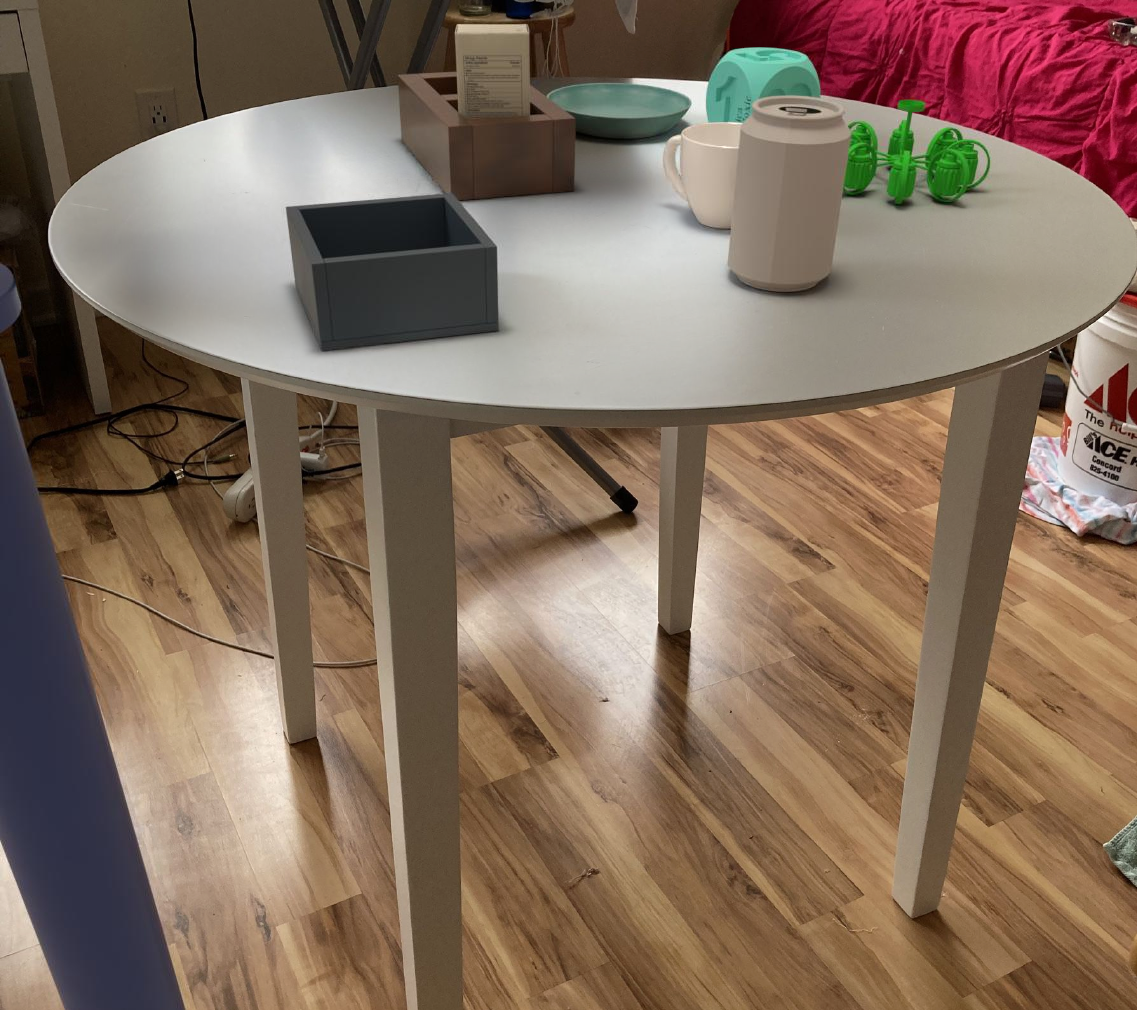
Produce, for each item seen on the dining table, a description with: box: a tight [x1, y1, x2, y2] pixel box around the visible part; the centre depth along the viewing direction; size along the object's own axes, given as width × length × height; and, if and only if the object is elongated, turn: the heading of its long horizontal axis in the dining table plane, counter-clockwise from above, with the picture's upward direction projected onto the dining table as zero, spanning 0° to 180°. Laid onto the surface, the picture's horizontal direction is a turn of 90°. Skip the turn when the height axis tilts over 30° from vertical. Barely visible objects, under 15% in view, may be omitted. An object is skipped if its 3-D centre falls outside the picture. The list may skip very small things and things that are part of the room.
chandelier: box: [843, 99, 991, 205], centre depth 103 cm, size 15×15×7 cm
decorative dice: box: [705, 47, 822, 123], centre depth 114 cm, size 8×8×8 cm
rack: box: [397, 71, 576, 201], centre depth 107 cm, size 11×20×6 cm, turn 19°
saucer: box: [546, 82, 693, 140], centre depth 120 cm, size 15×15×3 cm
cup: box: [662, 122, 742, 230], centre depth 95 cm, size 8×10×7 cm
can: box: [726, 95, 852, 293], centre depth 83 cm, size 8×8×12 cm
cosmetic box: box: [454, 23, 531, 120], centre depth 102 cm, size 6×4×12 cm
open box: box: [285, 193, 500, 351], centre depth 79 cm, size 12×12×6 cm
